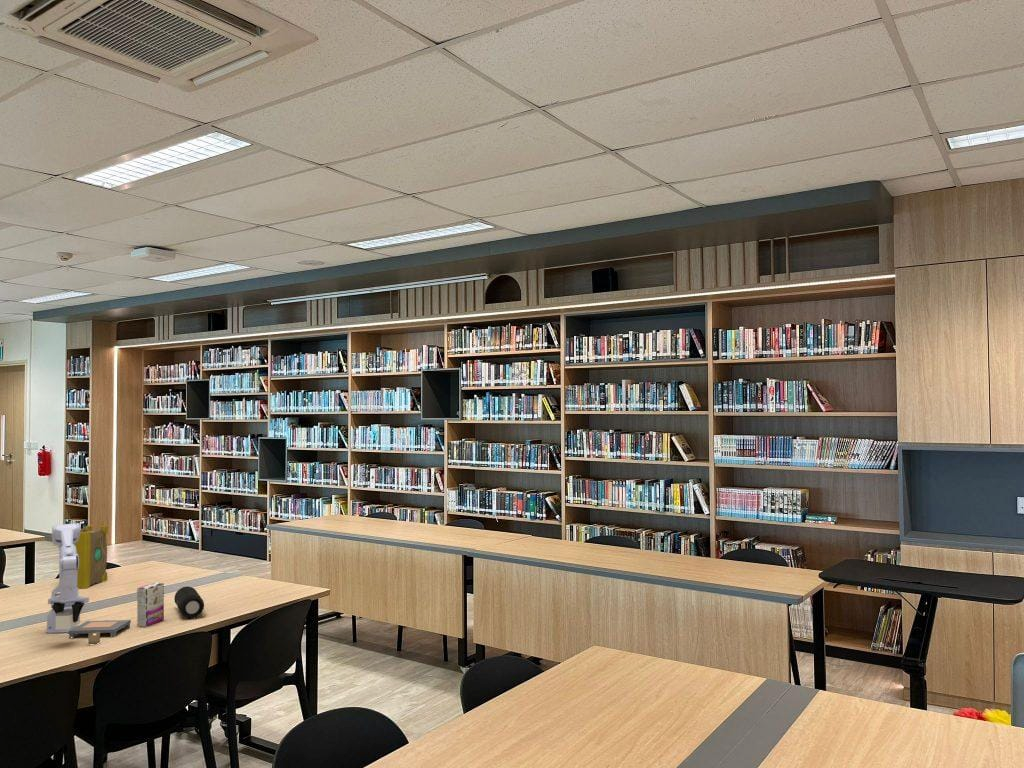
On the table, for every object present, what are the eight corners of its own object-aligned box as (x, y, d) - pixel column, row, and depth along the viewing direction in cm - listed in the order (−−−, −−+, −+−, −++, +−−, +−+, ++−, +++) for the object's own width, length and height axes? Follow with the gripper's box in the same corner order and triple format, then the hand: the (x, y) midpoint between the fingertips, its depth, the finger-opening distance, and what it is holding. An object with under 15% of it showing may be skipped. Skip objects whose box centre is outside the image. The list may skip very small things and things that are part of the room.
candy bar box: (154, 619, 320) (154, 581, 321) (164, 620, 319) (164, 582, 320) (136, 626, 309) (136, 587, 310) (146, 627, 308) (146, 588, 309)
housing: (55, 629, 282) (55, 613, 282) (67, 623, 290) (67, 608, 290) (68, 629, 282) (69, 613, 283) (80, 623, 290) (80, 608, 291)
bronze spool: (86, 645, 284) (86, 635, 285) (91, 642, 288) (91, 632, 289) (96, 645, 285) (96, 634, 285) (101, 642, 289) (102, 631, 289)
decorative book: (87, 588, 381) (88, 530, 382) (66, 588, 381) (67, 530, 382) (108, 580, 401) (109, 524, 402) (88, 580, 401) (89, 525, 402)
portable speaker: (173, 608, 339) (173, 586, 339) (196, 605, 344) (196, 584, 345) (180, 621, 317) (180, 598, 318) (205, 618, 322) (205, 595, 323)
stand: (68, 638, 294) (68, 630, 294) (86, 628, 308) (86, 620, 308) (114, 637, 295) (114, 628, 295) (130, 627, 309) (130, 619, 309)
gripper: (43, 589, 283) (43, 625, 282) (82, 588, 283) (81, 624, 283) (54, 585, 290) (53, 620, 289) (91, 584, 290) (91, 619, 290)
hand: (68, 621), depth 286 cm, fingers closed on housing, 5 cm apart
